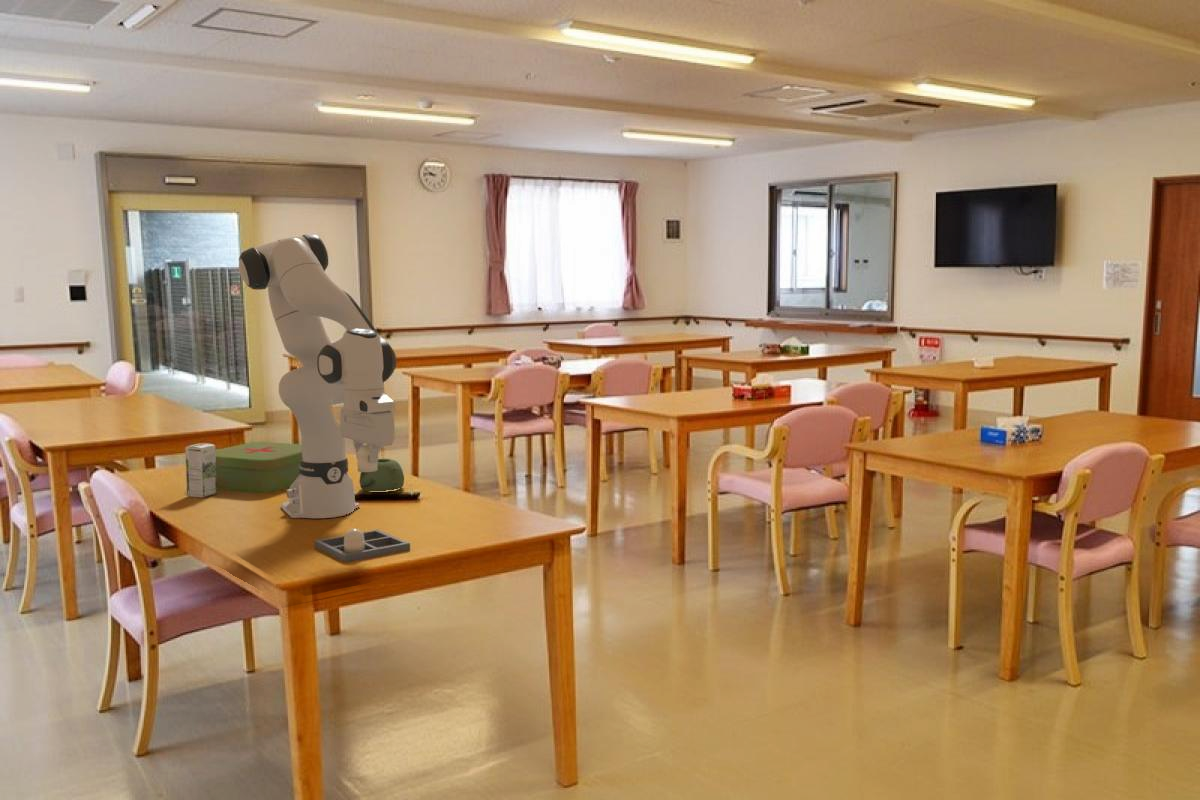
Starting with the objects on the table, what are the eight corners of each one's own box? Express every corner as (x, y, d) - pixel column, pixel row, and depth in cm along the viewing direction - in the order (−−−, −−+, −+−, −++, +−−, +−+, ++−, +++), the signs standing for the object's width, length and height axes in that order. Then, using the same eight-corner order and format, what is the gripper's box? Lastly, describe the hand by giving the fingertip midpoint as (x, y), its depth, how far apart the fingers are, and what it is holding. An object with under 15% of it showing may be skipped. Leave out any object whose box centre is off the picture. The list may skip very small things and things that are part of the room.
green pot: (350, 489, 293) (349, 460, 292) (389, 483, 302) (388, 454, 300) (380, 498, 281) (380, 467, 280) (419, 491, 290) (419, 461, 289)
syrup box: (201, 492, 288) (198, 442, 287) (218, 494, 287) (215, 443, 285) (186, 496, 283) (184, 445, 281) (203, 498, 281) (201, 447, 279)
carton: (314, 551, 227) (314, 540, 227) (377, 539, 237) (377, 529, 237) (345, 566, 216) (345, 555, 215) (410, 553, 225) (409, 543, 225)
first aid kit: (269, 495, 286) (267, 460, 285) (196, 488, 295) (194, 454, 294) (325, 477, 310) (324, 446, 309) (256, 472, 320) (255, 440, 318)
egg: (354, 470, 229) (353, 445, 229) (372, 467, 232) (371, 443, 231) (363, 473, 226) (362, 447, 225) (381, 470, 229) (380, 445, 228)
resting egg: (340, 554, 222) (340, 528, 221) (359, 550, 224) (358, 525, 224) (349, 558, 218) (349, 532, 218) (368, 554, 221) (367, 529, 220)
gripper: (331, 398, 233) (334, 457, 235) (372, 406, 217) (375, 469, 219) (357, 396, 237) (359, 453, 239) (398, 403, 221) (401, 465, 223)
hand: (367, 461), depth 229 cm, fingers closed on egg, 4 cm apart
